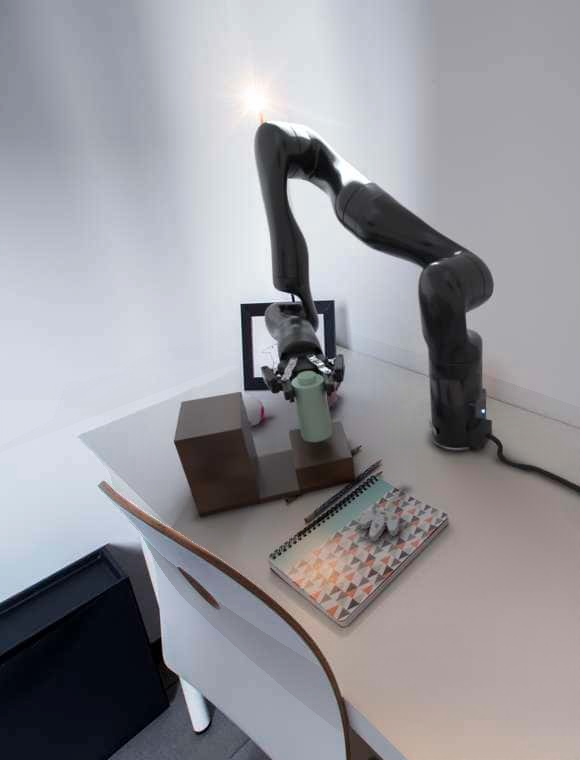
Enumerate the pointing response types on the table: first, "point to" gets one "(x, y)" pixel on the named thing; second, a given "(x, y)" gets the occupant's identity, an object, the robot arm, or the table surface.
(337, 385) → the pink lumpy piece
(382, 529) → the grey lobed piece
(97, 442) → the table surface
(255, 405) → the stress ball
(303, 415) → the green knobbed cylinder
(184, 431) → the step shelf
